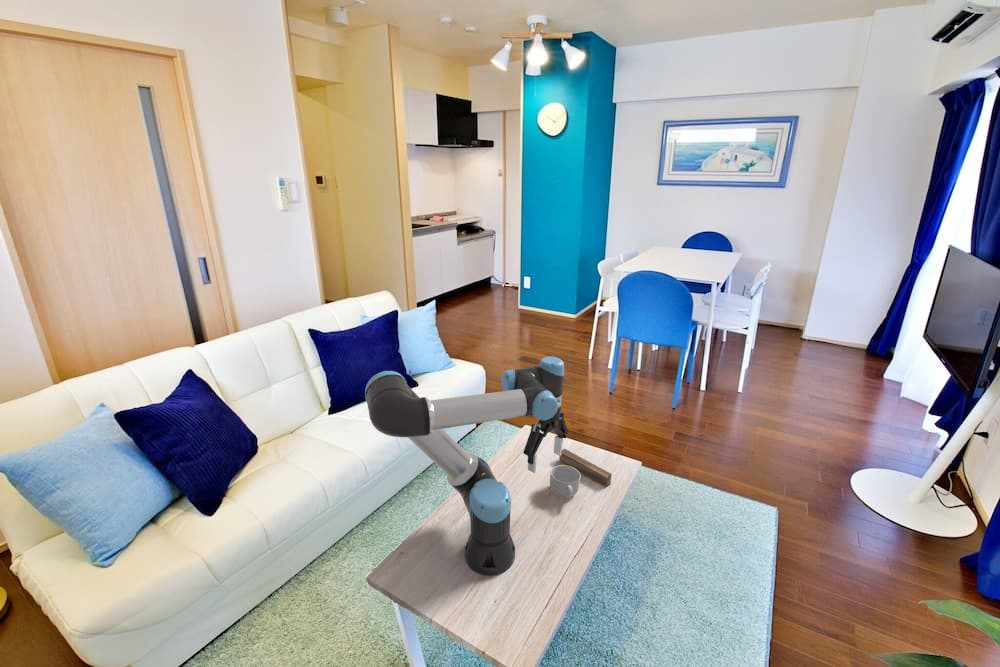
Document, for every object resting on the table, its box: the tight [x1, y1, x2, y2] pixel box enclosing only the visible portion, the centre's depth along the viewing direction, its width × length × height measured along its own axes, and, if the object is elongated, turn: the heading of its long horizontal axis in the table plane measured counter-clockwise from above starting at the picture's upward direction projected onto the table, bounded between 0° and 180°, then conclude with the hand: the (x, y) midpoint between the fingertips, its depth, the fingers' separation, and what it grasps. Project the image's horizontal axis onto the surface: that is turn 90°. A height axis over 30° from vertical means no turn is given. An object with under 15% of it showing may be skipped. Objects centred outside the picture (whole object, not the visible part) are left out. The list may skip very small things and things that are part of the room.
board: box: [558, 448, 612, 489], centre depth 178 cm, size 3×22×4 cm, turn 44°
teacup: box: [549, 464, 582, 498], centre depth 166 cm, size 14×11×8 cm
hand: (544, 462), depth 154 cm, fingers open, 13 cm apart
